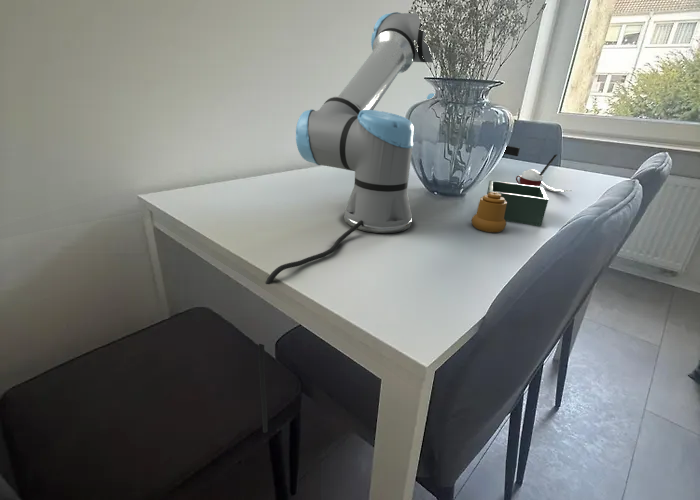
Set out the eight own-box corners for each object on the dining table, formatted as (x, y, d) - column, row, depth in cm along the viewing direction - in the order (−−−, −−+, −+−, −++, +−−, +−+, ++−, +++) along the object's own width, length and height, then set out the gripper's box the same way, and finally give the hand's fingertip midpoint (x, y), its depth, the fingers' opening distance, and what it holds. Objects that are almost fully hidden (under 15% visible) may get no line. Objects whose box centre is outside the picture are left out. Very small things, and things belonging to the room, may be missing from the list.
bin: (541, 226, 92) (548, 199, 89) (483, 217, 96) (489, 191, 93) (536, 211, 102) (543, 187, 100) (484, 203, 106) (489, 180, 103)
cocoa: (510, 186, 125) (519, 148, 120) (525, 185, 127) (534, 148, 122) (534, 195, 117) (544, 155, 112) (549, 193, 120) (560, 154, 115)
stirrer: (578, 183, 117) (566, 184, 115) (575, 195, 118) (563, 195, 117) (531, 171, 134) (519, 172, 133) (528, 182, 136) (517, 182, 134)
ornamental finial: (500, 236, 85) (466, 228, 88) (507, 226, 90) (475, 219, 94) (509, 201, 81) (473, 193, 85) (515, 193, 87) (482, 187, 91)
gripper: (470, 150, 148) (523, 161, 134) (429, 156, 133) (484, 169, 119) (474, 130, 145) (529, 139, 131) (432, 134, 130) (489, 144, 116)
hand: (508, 153), depth 125 cm, fingers open, 13 cm apart
